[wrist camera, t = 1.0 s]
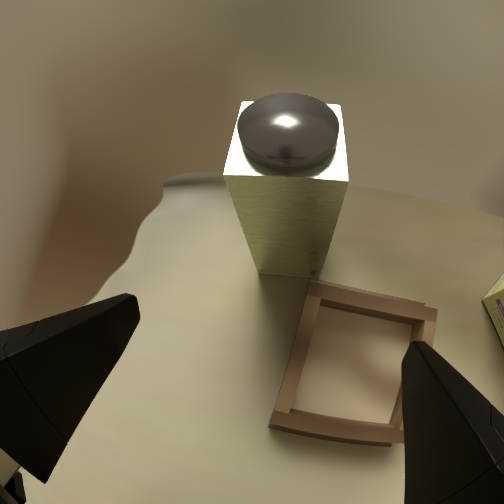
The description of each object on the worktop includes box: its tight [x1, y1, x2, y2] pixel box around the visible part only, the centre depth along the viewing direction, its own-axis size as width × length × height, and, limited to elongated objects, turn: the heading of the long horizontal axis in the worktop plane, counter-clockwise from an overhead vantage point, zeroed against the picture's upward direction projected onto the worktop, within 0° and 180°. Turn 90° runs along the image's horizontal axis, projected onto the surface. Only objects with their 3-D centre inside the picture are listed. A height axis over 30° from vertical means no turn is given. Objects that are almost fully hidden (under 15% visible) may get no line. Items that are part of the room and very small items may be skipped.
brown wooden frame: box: [268, 278, 437, 447], centre depth 17 cm, size 12×10×4 cm
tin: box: [223, 93, 348, 279], centre depth 17 cm, size 5×5×14 cm
